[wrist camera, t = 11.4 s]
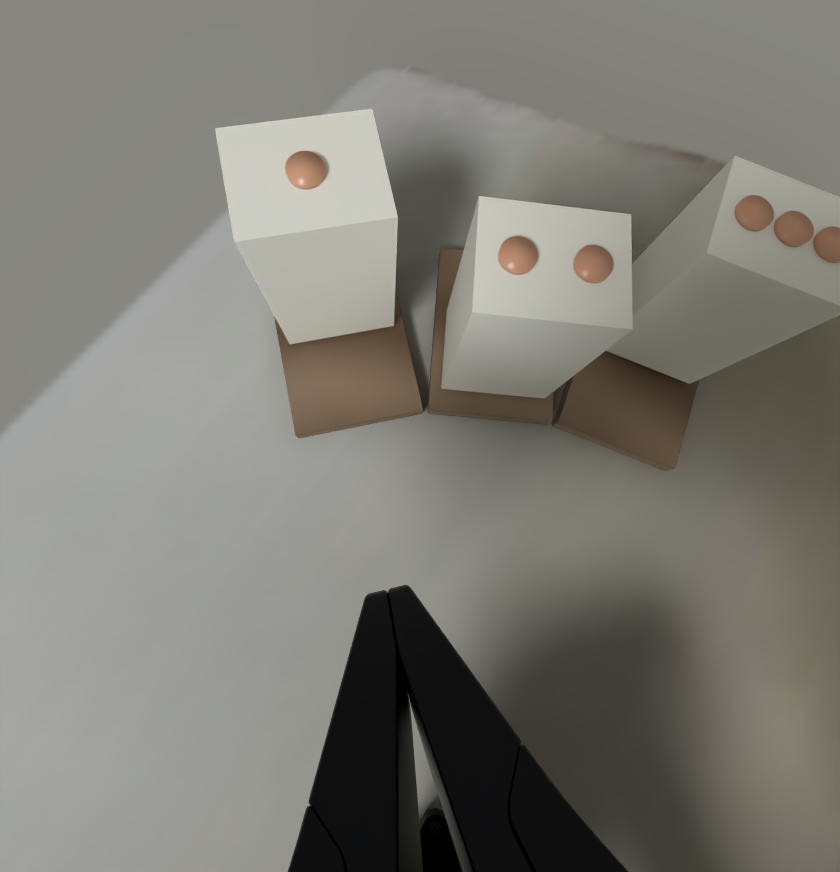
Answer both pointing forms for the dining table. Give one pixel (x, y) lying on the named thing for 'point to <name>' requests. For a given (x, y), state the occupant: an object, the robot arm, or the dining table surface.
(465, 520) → the dining table surface
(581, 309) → the two-bump white pillar
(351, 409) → the tile tracks
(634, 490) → the dining table surface
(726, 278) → the three-dot tile
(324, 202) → the white pillar with knob
